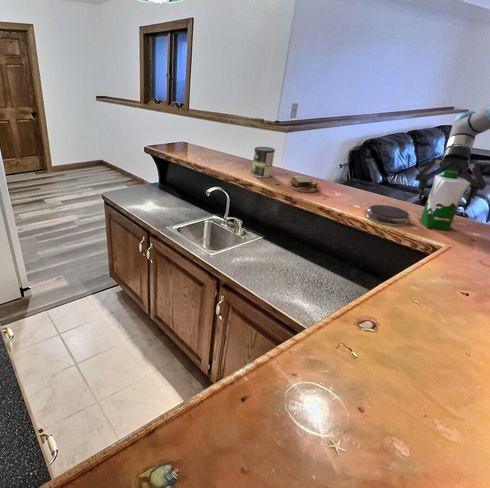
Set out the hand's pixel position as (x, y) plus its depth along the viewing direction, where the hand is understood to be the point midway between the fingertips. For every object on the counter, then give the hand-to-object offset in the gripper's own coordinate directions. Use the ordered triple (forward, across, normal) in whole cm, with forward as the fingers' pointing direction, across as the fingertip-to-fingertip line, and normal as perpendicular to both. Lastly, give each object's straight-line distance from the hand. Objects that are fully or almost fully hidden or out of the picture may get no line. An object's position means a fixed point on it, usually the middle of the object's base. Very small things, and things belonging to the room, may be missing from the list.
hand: (443, 201), depth 123 cm
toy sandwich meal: (-6, +52, -20) cm, 56 cm away
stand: (+8, +15, -6) cm, 18 cm away
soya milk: (+6, 0, -8) cm, 10 cm away
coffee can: (-13, +77, -28) cm, 83 cm away
